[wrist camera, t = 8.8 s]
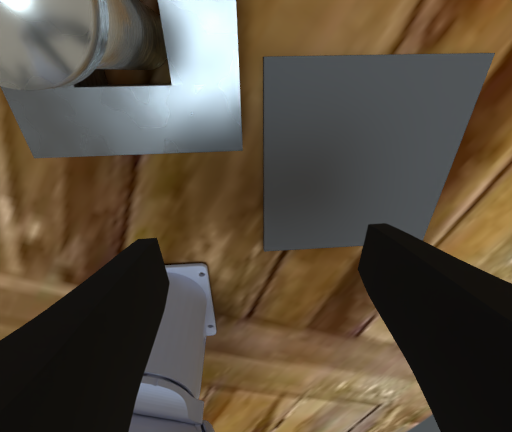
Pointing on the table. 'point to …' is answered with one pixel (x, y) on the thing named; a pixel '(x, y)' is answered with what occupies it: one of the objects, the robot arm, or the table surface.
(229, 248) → the table surface
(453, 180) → the table surface
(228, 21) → the square hole block
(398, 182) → the mat
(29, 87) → the pin
